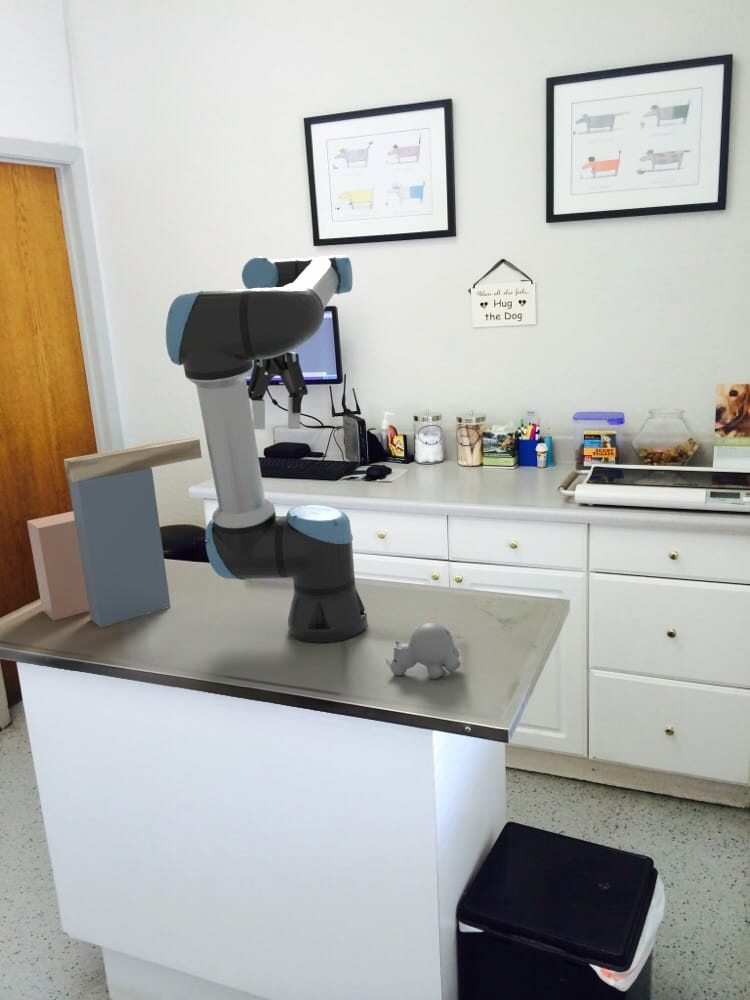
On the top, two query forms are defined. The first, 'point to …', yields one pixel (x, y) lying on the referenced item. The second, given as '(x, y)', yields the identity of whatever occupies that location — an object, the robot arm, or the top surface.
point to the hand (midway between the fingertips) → (276, 429)
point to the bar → (132, 459)
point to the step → (58, 565)
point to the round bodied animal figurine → (426, 651)
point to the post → (120, 545)
